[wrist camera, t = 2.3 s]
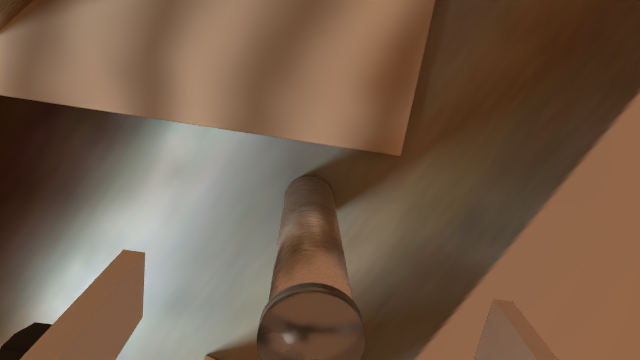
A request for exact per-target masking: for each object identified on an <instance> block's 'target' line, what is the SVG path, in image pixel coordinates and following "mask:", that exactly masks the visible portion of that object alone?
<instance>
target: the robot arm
mask: <svg viewBox="0 0 640 360" xmlns="http://www.w3.org/2000/svg"><path fill="white" fill-rule="evenodd" d="M144 267H145V253H144V252H137V251H130V250H123V251H122V252H121V253H120V254H119V255H118V256H117V257H116V258H115V259H114V260H113V261H112V262H111V263H110V265H109V266H108V267H107V268H106V269H105V270H104V271H103V272H102V273H101V274H100V275H99V276H98V277H97V278H96V279H95V280H94V281H93V283H92V284H91V285H90V286H89V287H88V288H87V289H86V290H85V291H84V292H83V293H82V294H81V295H80V296H79V297H78V298H77V299H76V301H75V302H74V303H73V304H72V305H71V306H70V307H69V308H68V309H67V310H66V311H65V312H64V313H63V314H62V315H61V316H60V317H59V318H58V320H57V321H56V322H55V323H54V324H53V325H51V324H43V323H33V324H32V325H30V326H28V327H26V328H24V329H22V330H21V331H19V332H17V333H15V334H14V335H13V336H12V337H11V338H10V339H9V340H8V341H7V342H6V343H5V344H4V345H3V346H2V347H1V349H0V360H115V359H116V358H117V356H118V355H119V353H120V352H121V350H122V348H123V347H124V345H125V344H126V342H127V341H128V339H129V337H130V336H131V334H132V333H133V331H134V330H135V328H136V326H137V325H138V323H139V322H140V320H141V319H142V317H143V292H144ZM474 359H475V360H558V358H557V357H556V356H555V355H554V353H553V352H552V351H551V350H550V348H549V347H548V346H547V345H546V343H545V342H544V341H543V340H542V338H541V337H540V336H539V334H538V333H537V332H536V331H535V329H534V328H533V327H532V326H531V324H530V323H529V322H528V321H527V320H526V318H525V317H524V316H523V314H522V313H521V312H520V310H519V309H518V308H517V307H516V306H515V304H514V303H513V302H510V301H503V300H495V299H494V300H493V302H492V305H491V308H490V311H489V314H488V317H487V320H486V323H485V326H484V329H483V332H482V335H481V338H480V342H479V345H478V348H477V351H476V353H475V357H474Z"/></svg>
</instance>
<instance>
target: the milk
mask: <svg viewBox="0 0 640 360" xmlns="http://www.w3.org/2000/svg"><path fill="white" fill-rule="evenodd" d="M203 360H216V359H213V358H211V357H209V356H205V357H204V359H203Z"/></svg>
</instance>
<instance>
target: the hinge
mask: <svg viewBox="0 0 640 360" xmlns="http://www.w3.org/2000/svg"><path fill="white" fill-rule="evenodd" d="M32 1H34V0H0V30H1V29H2V28H3V27H5V26H6V25H7V24H8V23H9V22H10V21H11V20H12V19H13V18H15V17H16V16H17V15H18V14H19V13H20V12H21V11H22V10H24V9H25V8H26V7H27V6H28V5H29V4H30V3H31V2H32Z"/></svg>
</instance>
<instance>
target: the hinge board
mask: <svg viewBox="0 0 640 360" xmlns="http://www.w3.org/2000/svg"><path fill="white" fill-rule="evenodd" d="M434 5H435V0H34V1H32V2H31V3H30V4H29V5H28V6H27V7H26V8H25V9H24V10H22V11H21V12H20V13H19V14H18V15H17V16H16V17H15V18H13V19H12V20H11V21H10V22H9V23H8V24H7V25H6V26H5V27H3V28H2V29H1V30H0V95H3V96H9V97H16V98H22V99H29V100H35V101H42V102H49V103H55V104H62V105H68V106H75V107H81V108H88V109H95V110H101V111H108V112H114V113H121V114H127V115H134V116H141V117H147V118H154V119H160V120H167V121H173V122H180V123H187V124H193V125H200V126H206V127H213V128H219V129H226V130H233V131H239V132H246V133H252V134H259V135H265V136H272V137H279V138H285V139H292V140H298V141H305V142H311V143H318V144H325V145H331V146H338V147H344V148H351V149H357V150H364V151H371V152H377V153H384V154H390V155H397V156H401V151H402V147H403V143H404V138H405V134H406V129H407V125H408V120H409V116H410V111H411V107H412V103H413V98H414V94H415V89H416V85H417V80H418V76H419V71H420V67H421V63H422V58H423V54H424V49H425V45H426V40H427V36H428V31H429V27H430V22H431V18H432V14H433V9H434Z"/></svg>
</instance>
